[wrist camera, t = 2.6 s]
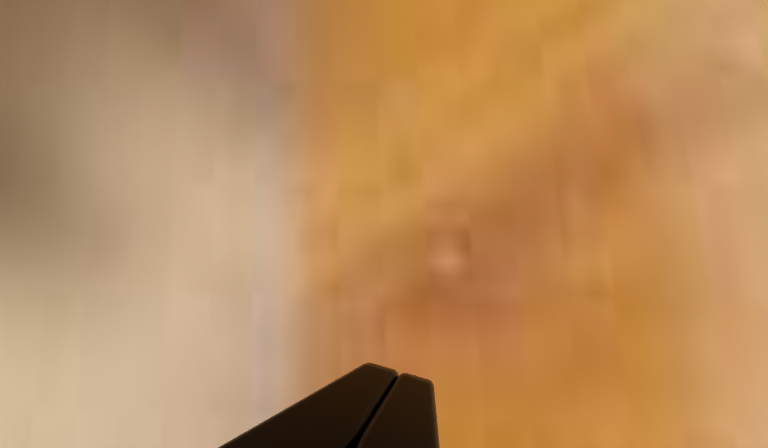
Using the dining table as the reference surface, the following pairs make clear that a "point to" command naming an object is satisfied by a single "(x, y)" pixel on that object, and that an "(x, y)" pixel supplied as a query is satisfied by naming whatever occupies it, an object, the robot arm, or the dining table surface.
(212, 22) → the dining table surface
